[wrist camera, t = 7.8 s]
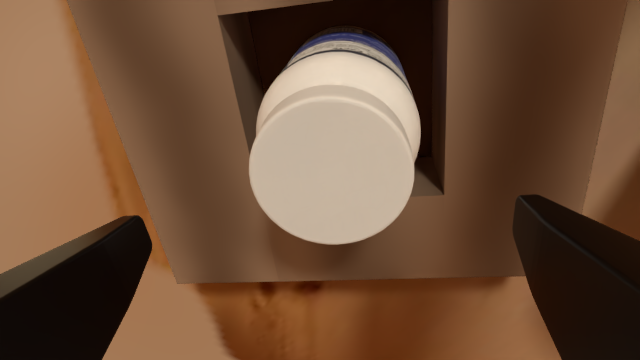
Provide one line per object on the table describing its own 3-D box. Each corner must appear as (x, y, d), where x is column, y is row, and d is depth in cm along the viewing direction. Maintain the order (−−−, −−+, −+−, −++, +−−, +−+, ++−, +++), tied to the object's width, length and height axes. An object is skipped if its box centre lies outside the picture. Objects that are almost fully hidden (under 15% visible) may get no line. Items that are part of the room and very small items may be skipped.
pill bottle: (358, 157, 22) (351, 289, 13) (268, 98, 20) (194, 198, 12) (429, 69, 19) (481, 159, 10) (330, -4, 18) (294, 27, 9)
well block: (602, -194, 14) (680, -246, 10) (537, 226, 22) (568, 275, 19) (93, -98, 17) (22, -114, 14) (203, 239, 25) (177, 283, 22)
